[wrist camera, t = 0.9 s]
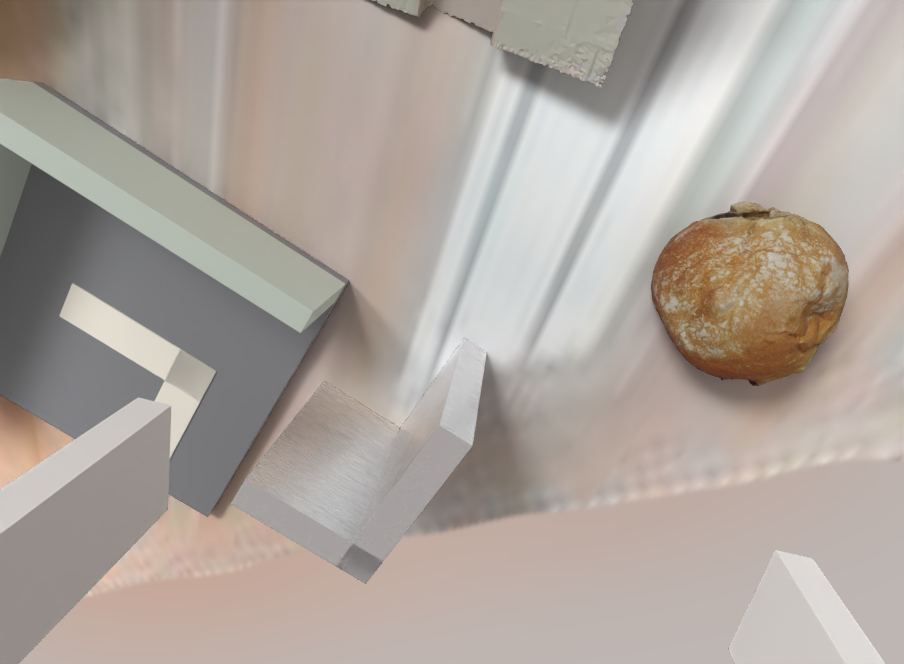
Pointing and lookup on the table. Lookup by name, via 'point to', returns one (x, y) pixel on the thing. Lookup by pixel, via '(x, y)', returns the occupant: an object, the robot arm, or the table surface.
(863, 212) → the table surface
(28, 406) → the corner tray
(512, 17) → the wall
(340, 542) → the angle bracket
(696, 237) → the bread roll
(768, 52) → the table surface
